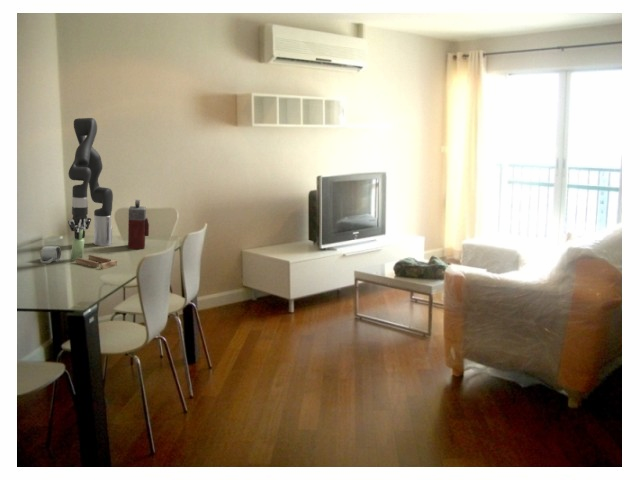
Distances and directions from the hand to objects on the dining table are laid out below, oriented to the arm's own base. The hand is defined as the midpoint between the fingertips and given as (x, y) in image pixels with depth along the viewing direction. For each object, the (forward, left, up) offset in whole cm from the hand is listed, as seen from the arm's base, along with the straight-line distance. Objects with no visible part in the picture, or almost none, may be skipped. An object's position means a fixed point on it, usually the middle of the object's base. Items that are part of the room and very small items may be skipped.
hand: (79, 238), depth 312 cm
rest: (0, +12, -12) cm, 16 cm away
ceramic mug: (+11, -9, -12) cm, 19 cm away
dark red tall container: (-42, +3, -12) cm, 44 cm away
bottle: (0, -2, -11) cm, 12 cm away
